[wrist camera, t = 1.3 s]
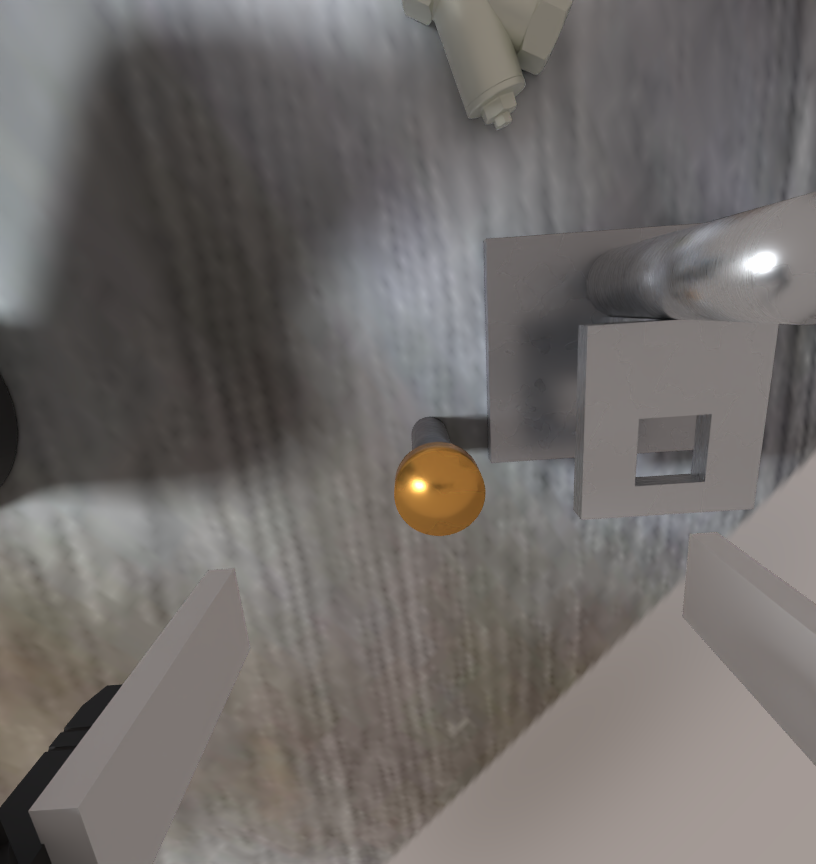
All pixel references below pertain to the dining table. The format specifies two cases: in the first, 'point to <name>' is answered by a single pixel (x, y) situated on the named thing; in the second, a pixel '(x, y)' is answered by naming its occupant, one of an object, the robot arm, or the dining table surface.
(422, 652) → the dining table surface
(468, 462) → the gold knobbed rod
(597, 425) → the grey lever mechanism
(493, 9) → the pipe fitting
